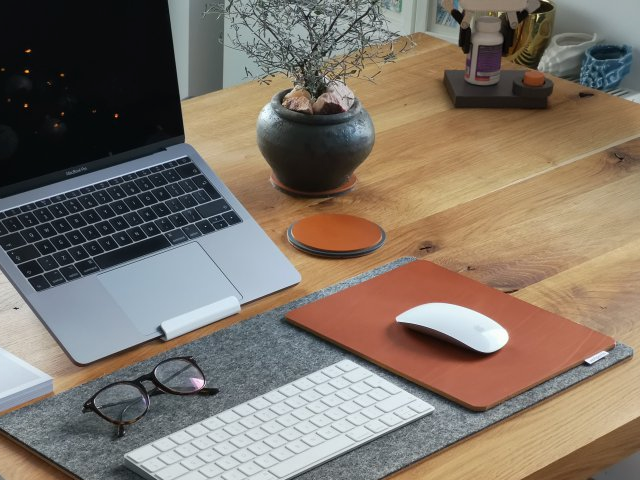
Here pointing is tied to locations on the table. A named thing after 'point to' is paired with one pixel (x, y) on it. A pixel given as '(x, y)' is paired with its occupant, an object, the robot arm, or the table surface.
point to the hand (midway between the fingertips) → (484, 50)
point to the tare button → (533, 78)
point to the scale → (497, 91)
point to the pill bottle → (485, 52)
